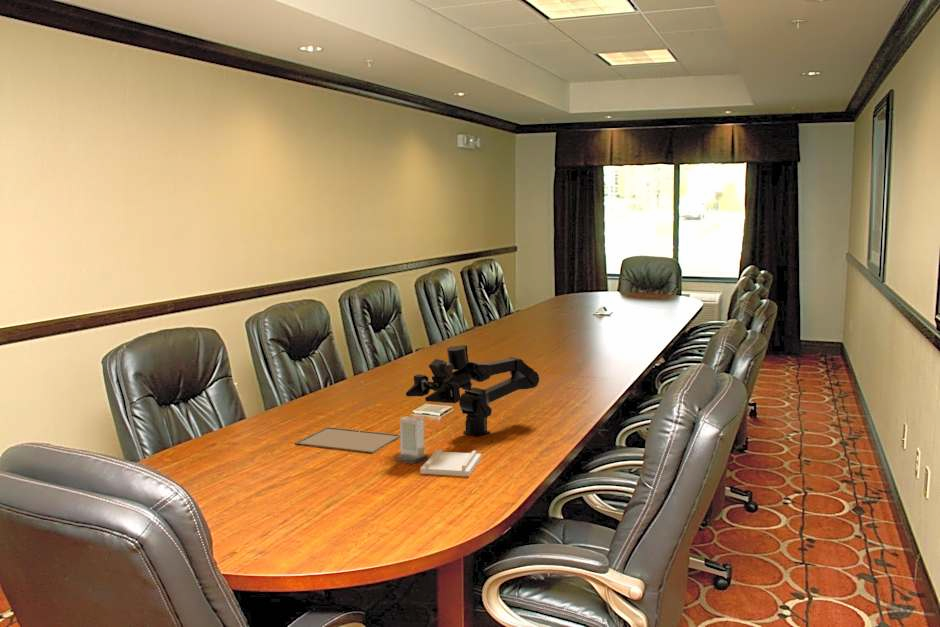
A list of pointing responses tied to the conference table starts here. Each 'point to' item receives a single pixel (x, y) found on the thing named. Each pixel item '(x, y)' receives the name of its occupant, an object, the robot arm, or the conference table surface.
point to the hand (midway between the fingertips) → (415, 397)
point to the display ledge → (451, 463)
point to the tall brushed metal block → (412, 440)
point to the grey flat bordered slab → (349, 439)
